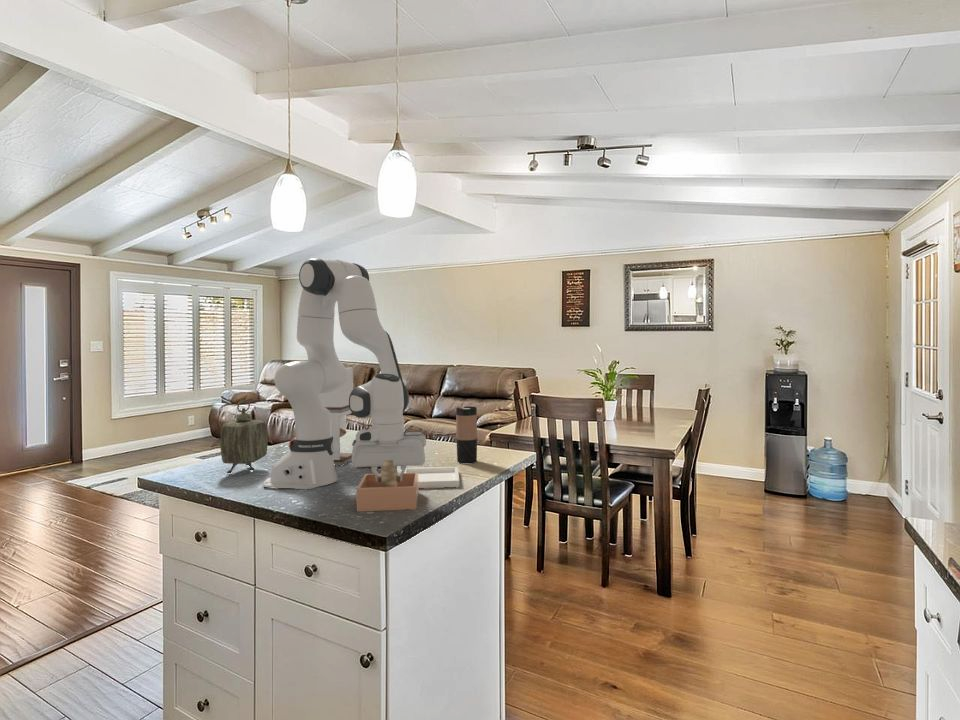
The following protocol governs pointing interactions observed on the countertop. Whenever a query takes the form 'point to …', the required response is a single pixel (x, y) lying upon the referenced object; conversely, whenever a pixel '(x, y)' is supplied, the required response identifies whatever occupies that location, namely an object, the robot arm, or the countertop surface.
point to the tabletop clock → (243, 440)
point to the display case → (339, 415)
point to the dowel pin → (388, 474)
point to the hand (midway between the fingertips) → (389, 481)
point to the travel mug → (466, 434)
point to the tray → (436, 476)
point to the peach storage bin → (387, 494)
